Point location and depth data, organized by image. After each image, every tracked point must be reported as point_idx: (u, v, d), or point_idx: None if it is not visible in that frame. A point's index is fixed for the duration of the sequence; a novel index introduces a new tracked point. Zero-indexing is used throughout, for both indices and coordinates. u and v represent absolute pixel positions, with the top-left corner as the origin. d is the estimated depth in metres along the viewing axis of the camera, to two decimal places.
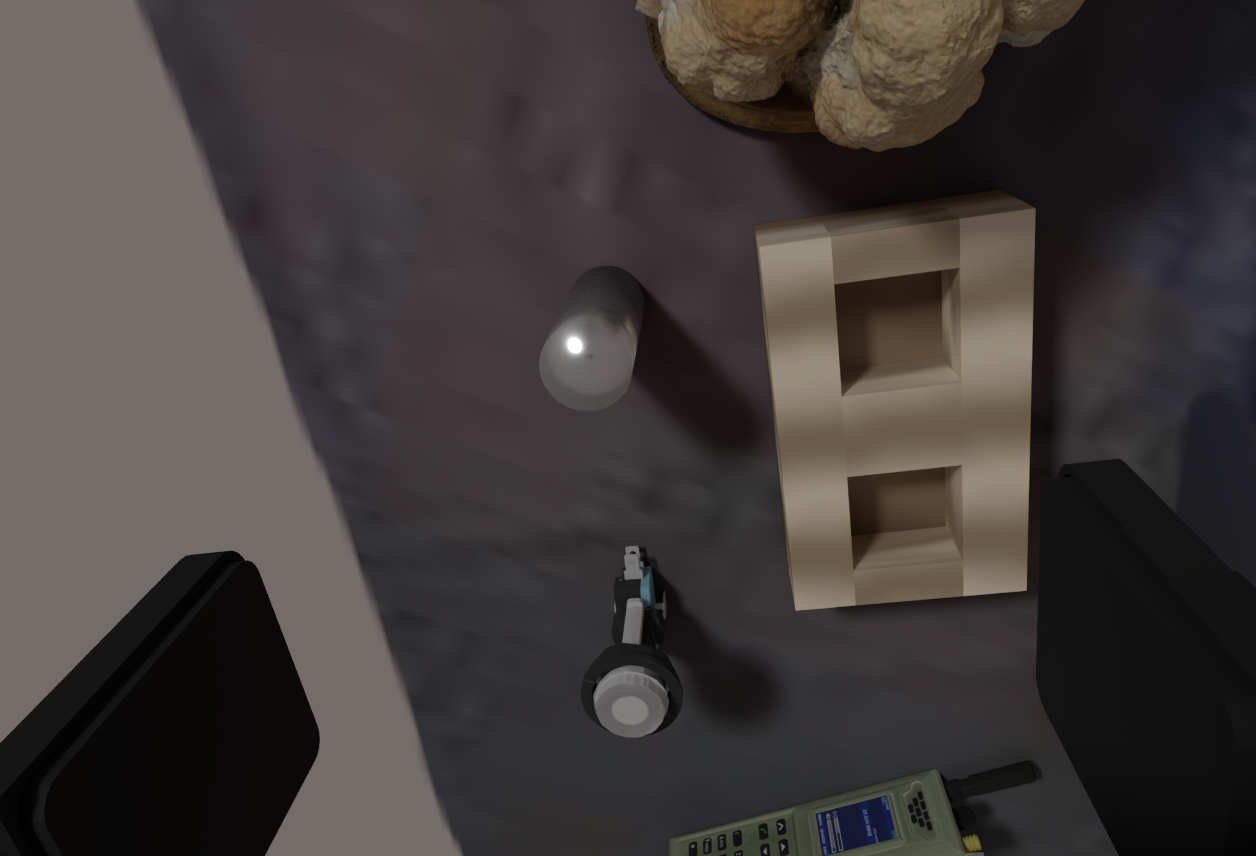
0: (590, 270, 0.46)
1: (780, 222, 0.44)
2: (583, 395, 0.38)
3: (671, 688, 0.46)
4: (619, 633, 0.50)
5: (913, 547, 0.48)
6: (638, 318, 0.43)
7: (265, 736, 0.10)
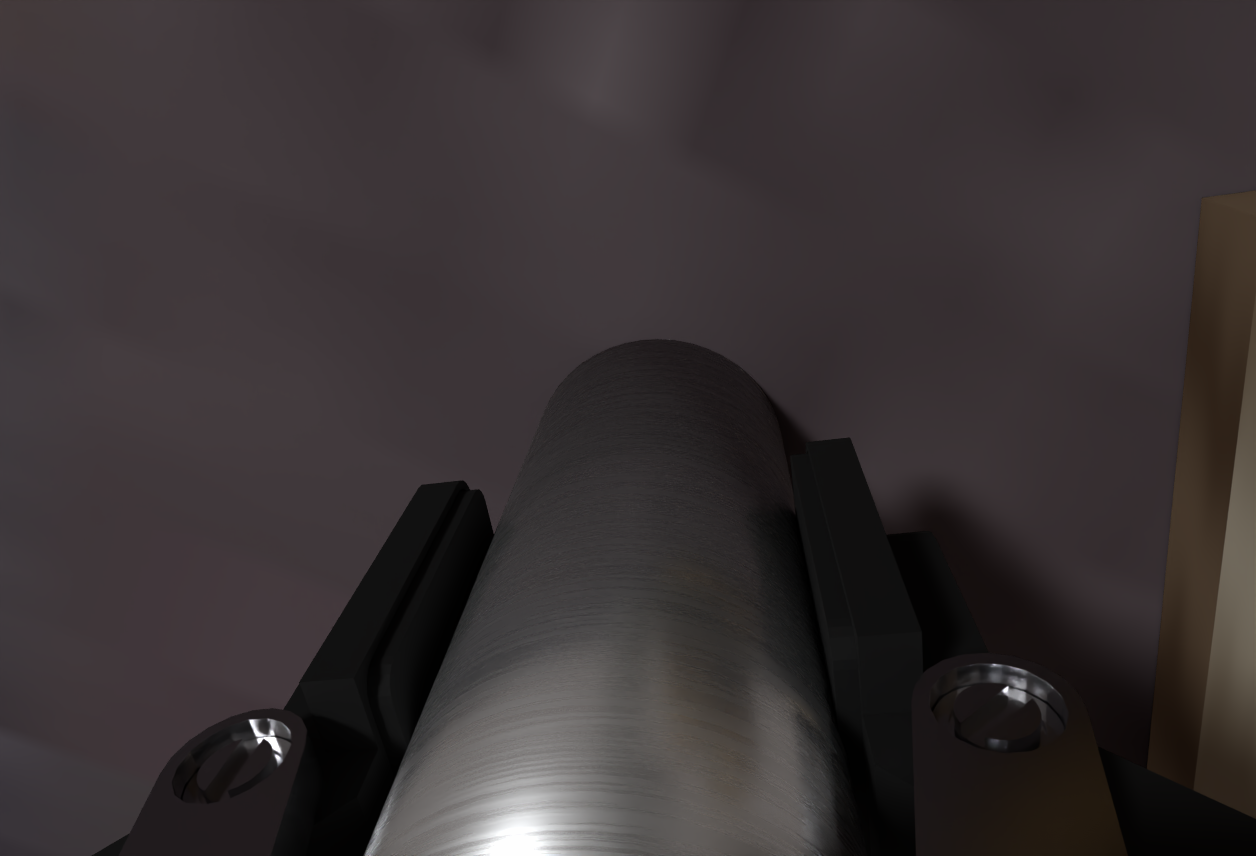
0: (604, 356, 0.14)
1: None
2: None
3: None
4: None
5: None
6: None
7: None
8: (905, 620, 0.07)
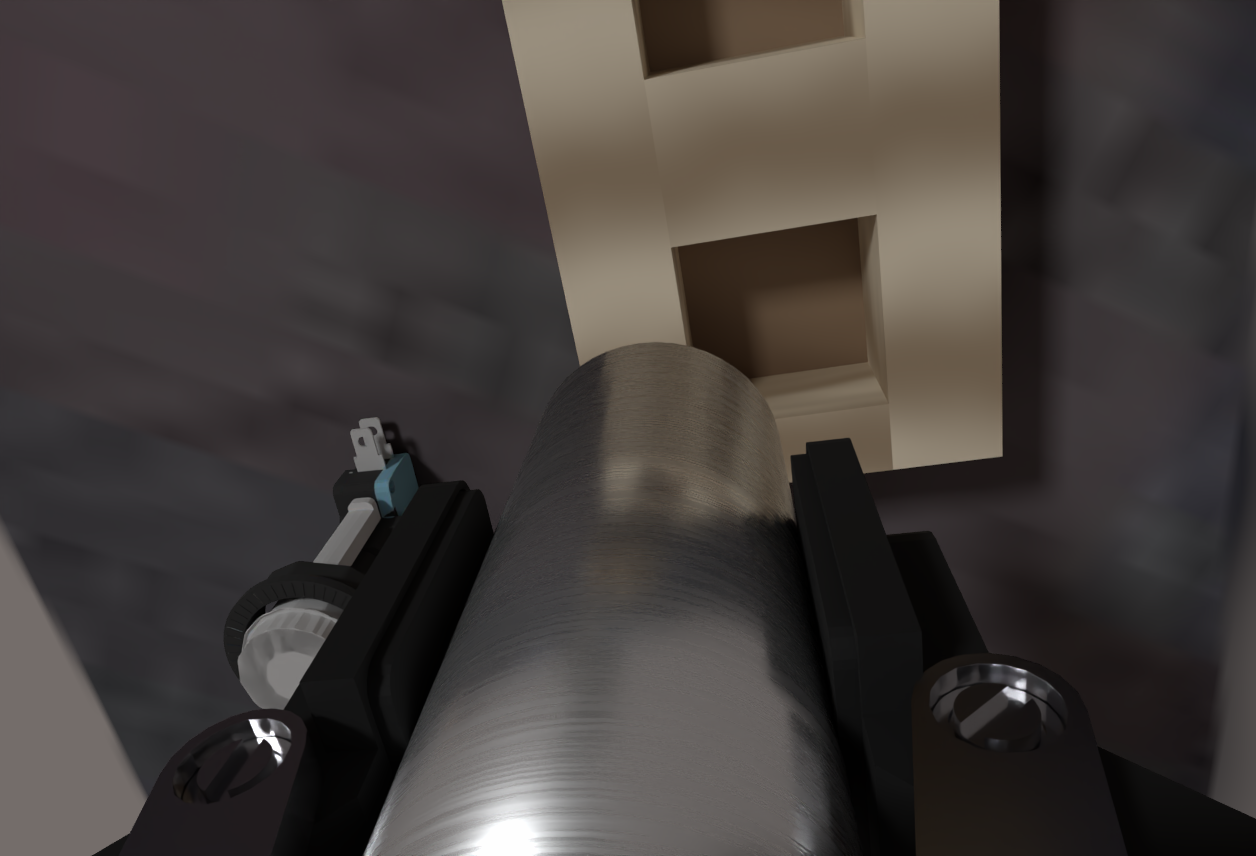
0: (602, 358, 0.14)
1: None
2: None
3: None
4: None
5: (808, 391, 0.28)
6: None
7: None
8: (905, 620, 0.07)
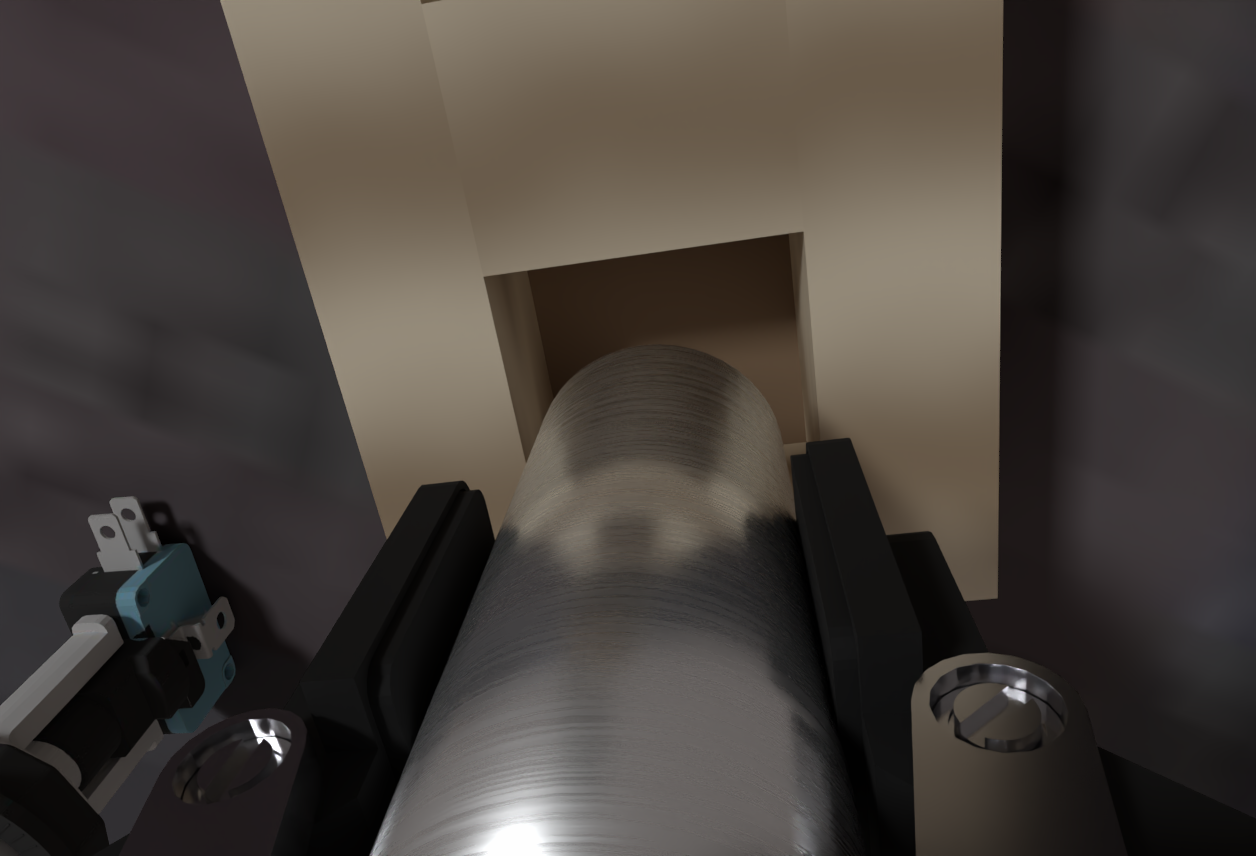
0: (605, 361, 0.14)
1: None
2: None
3: None
4: None
5: None
6: None
7: None
8: (906, 620, 0.07)
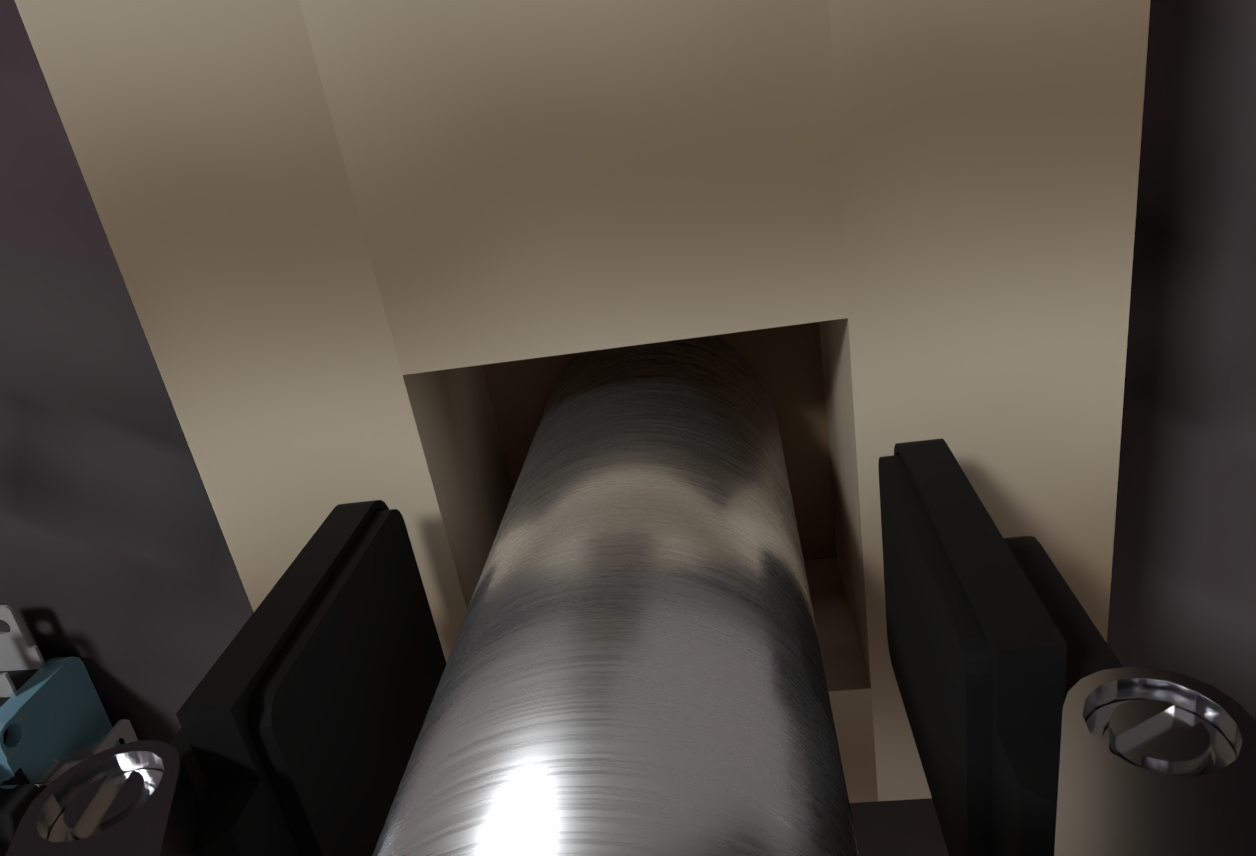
0: None
1: None
2: None
3: None
4: None
5: None
6: None
7: (413, 674, 0.11)
8: (1047, 632, 0.07)
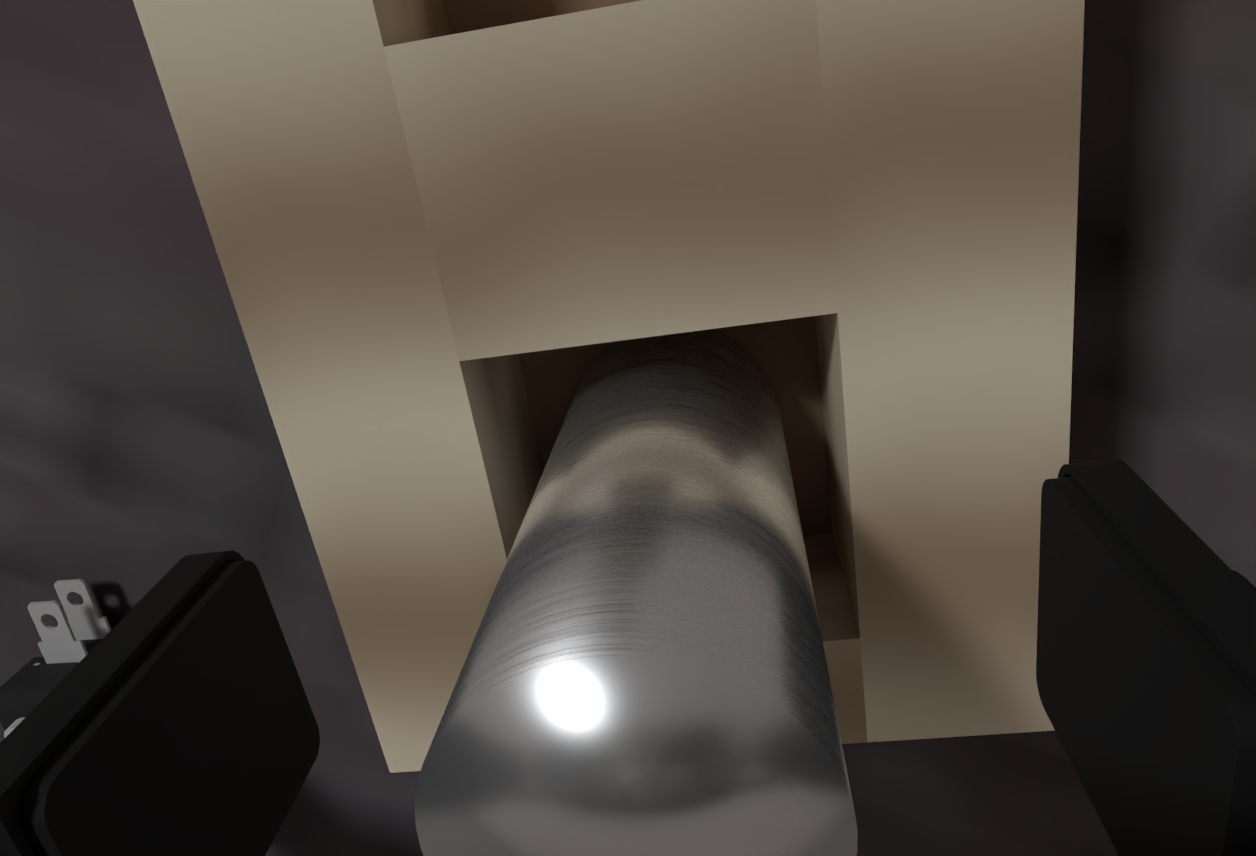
0: None
1: None
2: None
3: None
4: None
5: None
6: (797, 508, 0.13)
7: (265, 736, 0.10)
8: None
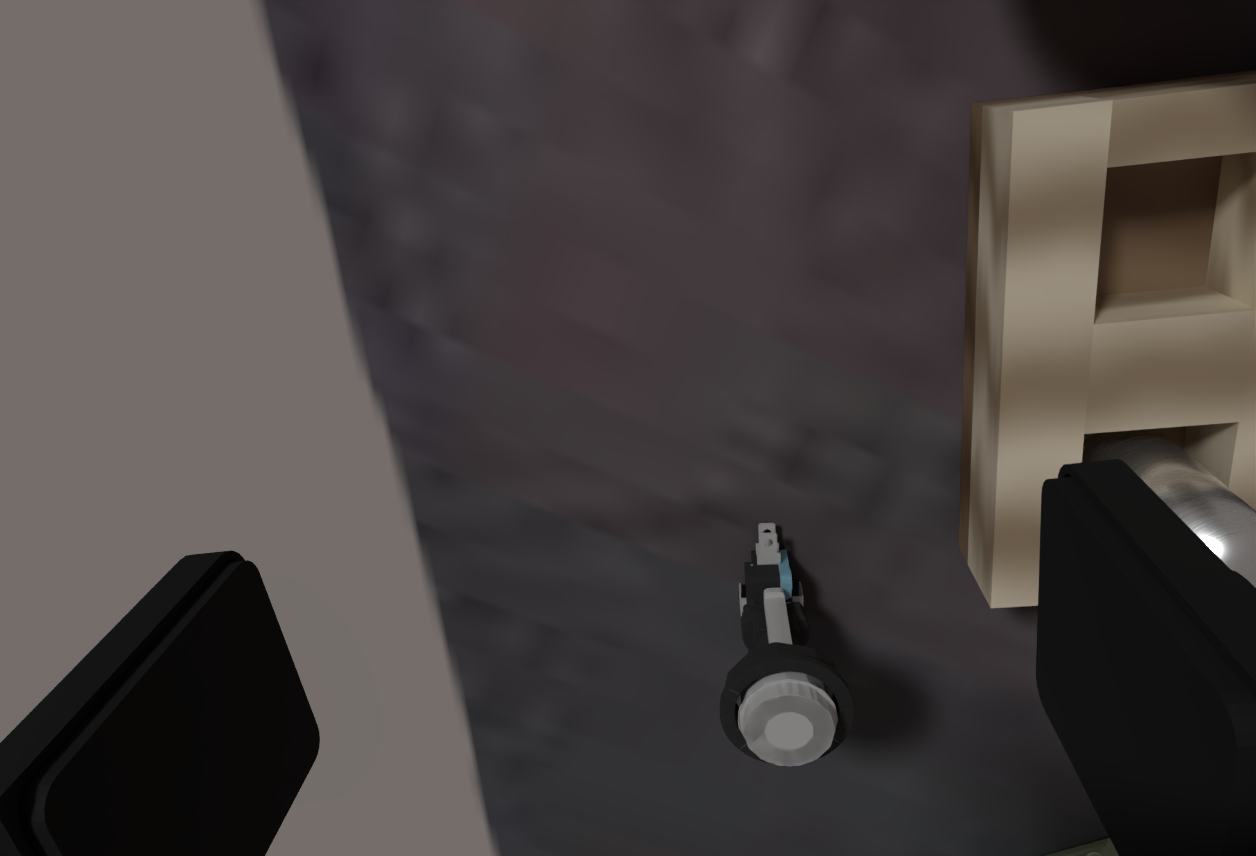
0: None
1: (1009, 99, 0.34)
2: None
3: (841, 703, 0.35)
4: (756, 631, 0.39)
5: None
6: None
7: (265, 736, 0.10)
8: None
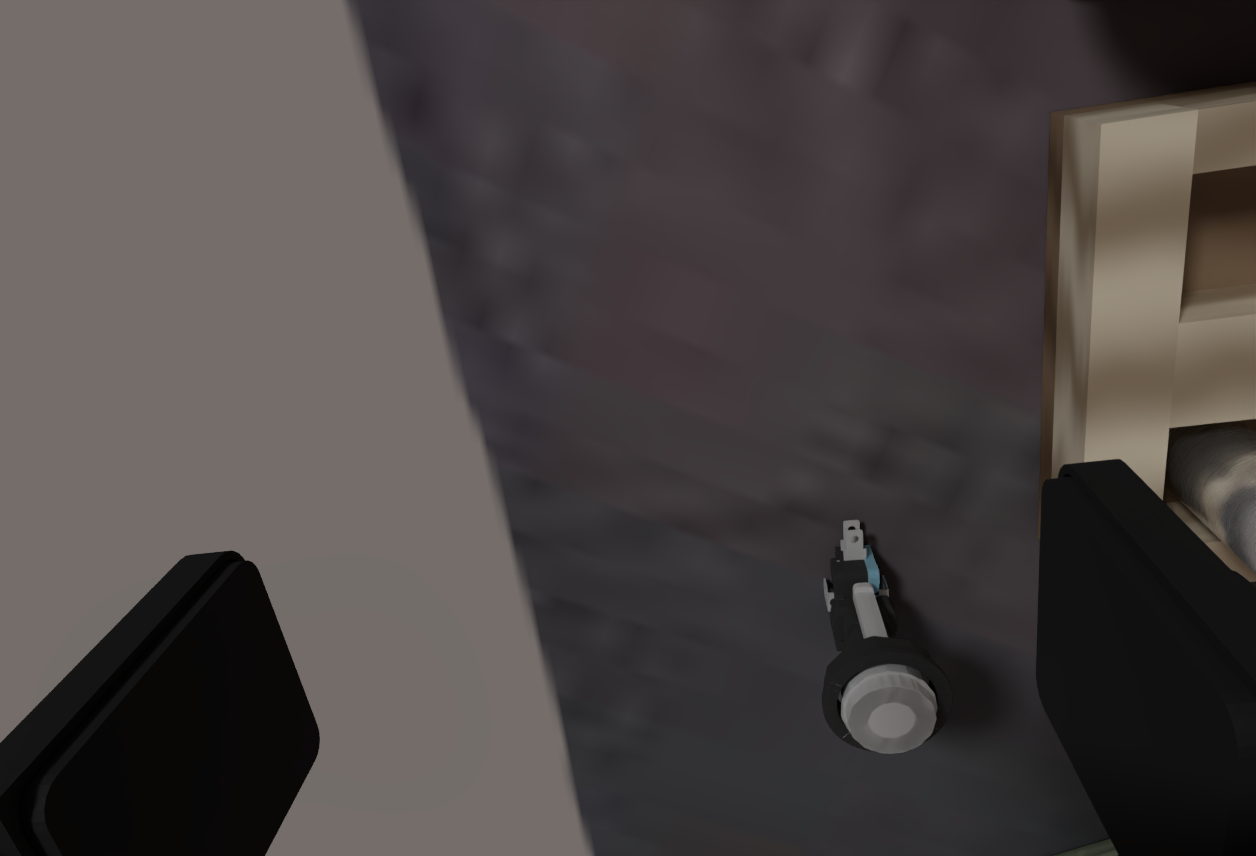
0: None
1: (1088, 107, 0.35)
2: None
3: (940, 692, 0.37)
4: (849, 625, 0.41)
5: None
6: None
7: (265, 736, 0.10)
8: None
